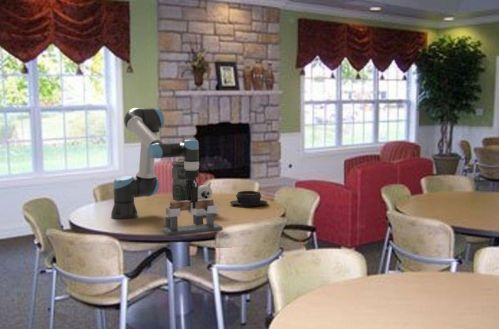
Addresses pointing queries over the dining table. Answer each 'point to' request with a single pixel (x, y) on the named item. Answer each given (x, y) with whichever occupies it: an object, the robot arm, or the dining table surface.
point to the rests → (196, 220)
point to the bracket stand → (192, 228)
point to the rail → (187, 205)
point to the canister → (179, 181)
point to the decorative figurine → (204, 196)
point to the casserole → (248, 198)
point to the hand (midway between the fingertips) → (192, 213)
